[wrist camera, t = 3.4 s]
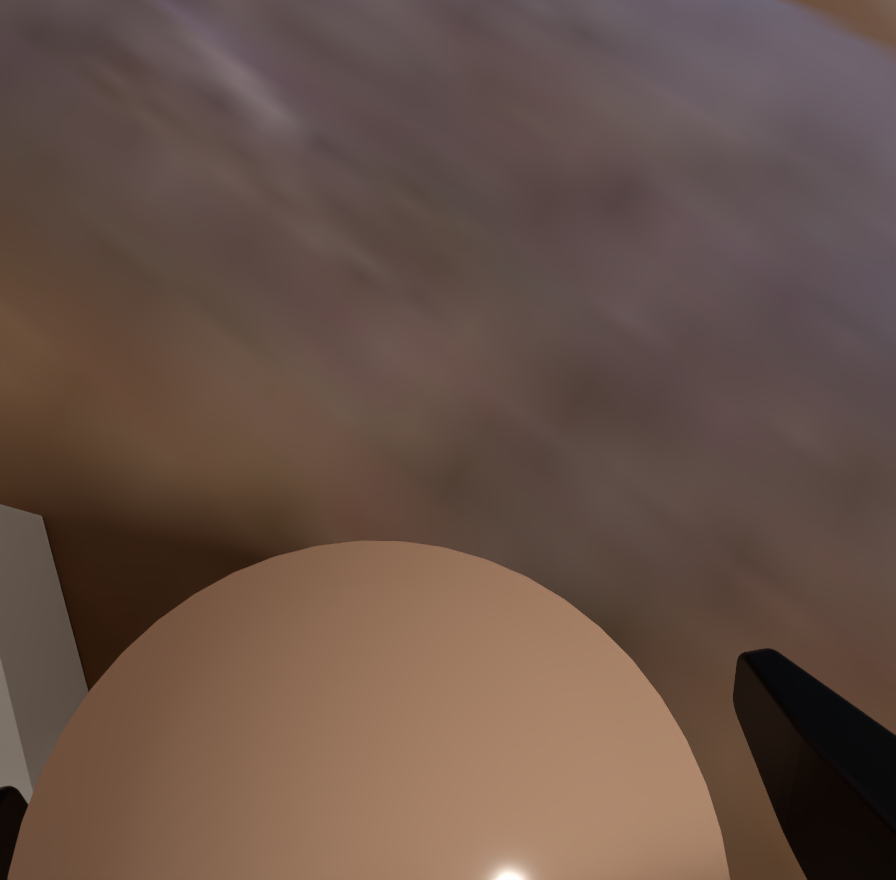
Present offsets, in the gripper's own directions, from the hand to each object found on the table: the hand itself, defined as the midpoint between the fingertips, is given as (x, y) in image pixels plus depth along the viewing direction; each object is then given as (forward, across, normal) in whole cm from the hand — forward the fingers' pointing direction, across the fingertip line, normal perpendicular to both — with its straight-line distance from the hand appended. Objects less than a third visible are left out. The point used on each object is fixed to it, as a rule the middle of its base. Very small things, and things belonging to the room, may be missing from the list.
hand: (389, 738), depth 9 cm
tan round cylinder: (+5, 0, +6) cm, 7 cm away
